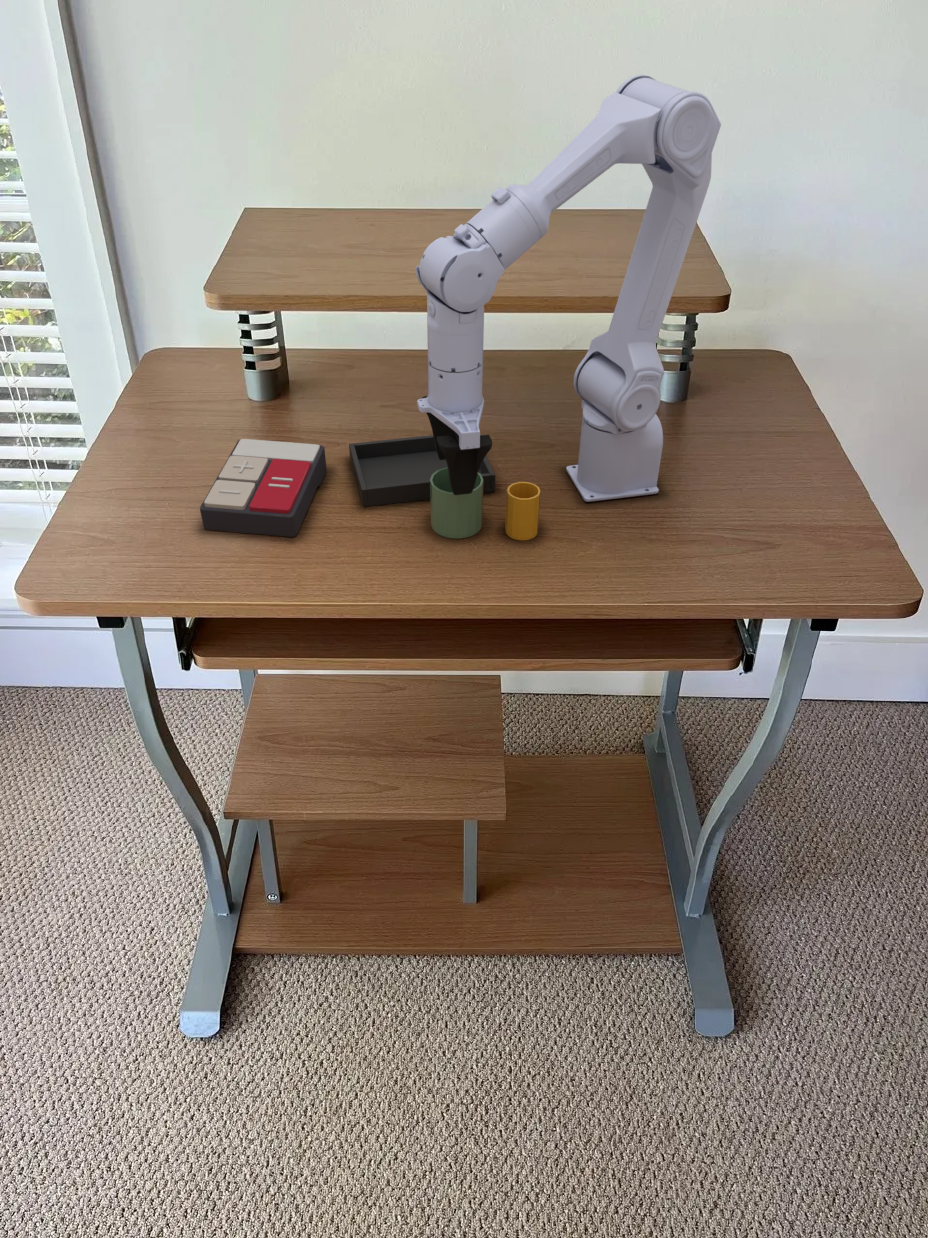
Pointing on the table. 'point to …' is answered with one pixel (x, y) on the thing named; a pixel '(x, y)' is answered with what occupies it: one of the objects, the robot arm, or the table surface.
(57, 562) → the table surface
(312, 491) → the calculator
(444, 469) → the green cup
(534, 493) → the mustard cup
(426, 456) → the tray
